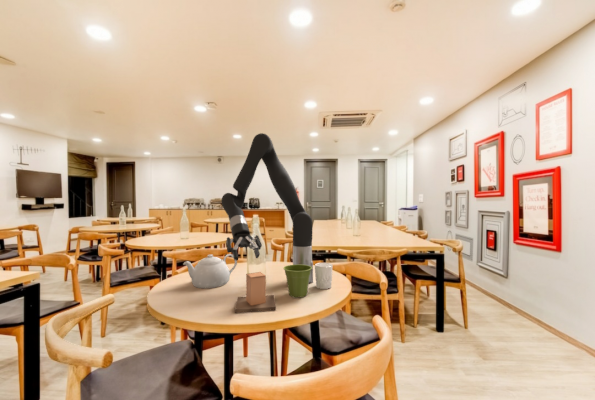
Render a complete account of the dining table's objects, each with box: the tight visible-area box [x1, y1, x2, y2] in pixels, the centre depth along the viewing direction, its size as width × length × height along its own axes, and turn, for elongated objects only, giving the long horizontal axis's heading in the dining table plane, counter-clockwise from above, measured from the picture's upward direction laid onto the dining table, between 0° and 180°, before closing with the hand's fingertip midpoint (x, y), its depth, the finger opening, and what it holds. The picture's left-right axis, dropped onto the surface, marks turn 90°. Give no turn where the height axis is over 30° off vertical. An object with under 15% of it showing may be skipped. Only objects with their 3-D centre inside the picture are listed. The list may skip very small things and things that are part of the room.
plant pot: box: [282, 264, 312, 299], centre depth 106 cm, size 12×12×11 cm
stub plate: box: [234, 294, 277, 314], centre depth 96 cm, size 14×12×6 cm
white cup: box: [314, 262, 333, 290], centre depth 116 cm, size 8×8×10 cm
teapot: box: [182, 253, 238, 289], centre depth 123 cm, size 19×18×14 cm
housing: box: [245, 271, 267, 306], centre depth 96 cm, size 6×6×10 cm
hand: (247, 258), depth 105 cm, fingers open, 8 cm apart
